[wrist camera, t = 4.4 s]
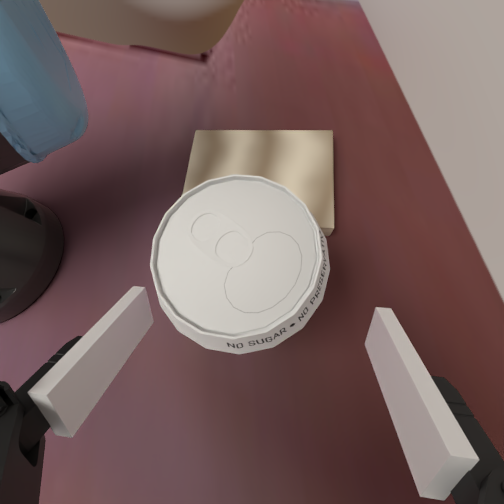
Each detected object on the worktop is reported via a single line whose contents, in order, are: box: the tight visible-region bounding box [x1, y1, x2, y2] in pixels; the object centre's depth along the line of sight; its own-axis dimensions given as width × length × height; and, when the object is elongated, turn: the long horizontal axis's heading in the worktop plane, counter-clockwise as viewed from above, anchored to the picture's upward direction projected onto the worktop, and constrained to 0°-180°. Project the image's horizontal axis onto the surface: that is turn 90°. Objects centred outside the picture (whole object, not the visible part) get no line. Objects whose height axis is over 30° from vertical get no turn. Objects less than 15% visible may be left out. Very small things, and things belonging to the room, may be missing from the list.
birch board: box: [182, 130, 334, 236], centre depth 27 cm, size 16×12×2 cm
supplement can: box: [150, 174, 330, 354], centre depth 17 cm, size 8×8×15 cm
